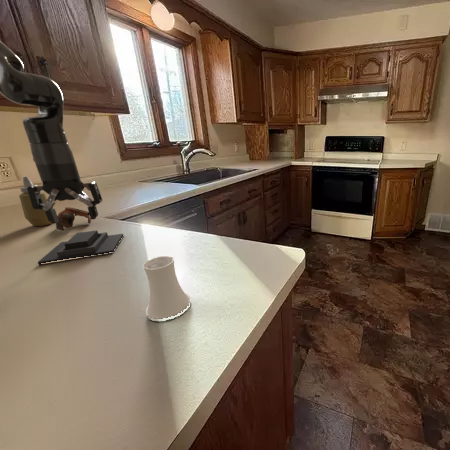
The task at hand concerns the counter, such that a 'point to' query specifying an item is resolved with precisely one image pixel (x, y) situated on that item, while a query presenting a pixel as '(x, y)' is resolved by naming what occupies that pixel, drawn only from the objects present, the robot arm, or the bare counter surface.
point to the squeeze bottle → (31, 214)
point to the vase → (164, 289)
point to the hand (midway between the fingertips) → (75, 220)
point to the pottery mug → (70, 217)
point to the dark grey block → (82, 240)
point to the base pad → (84, 248)
